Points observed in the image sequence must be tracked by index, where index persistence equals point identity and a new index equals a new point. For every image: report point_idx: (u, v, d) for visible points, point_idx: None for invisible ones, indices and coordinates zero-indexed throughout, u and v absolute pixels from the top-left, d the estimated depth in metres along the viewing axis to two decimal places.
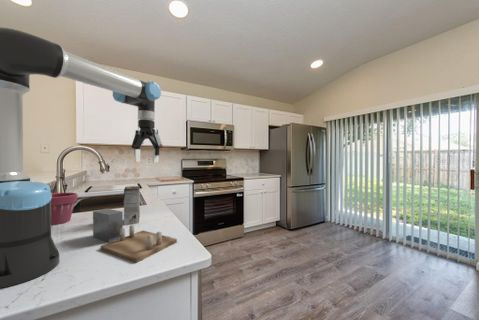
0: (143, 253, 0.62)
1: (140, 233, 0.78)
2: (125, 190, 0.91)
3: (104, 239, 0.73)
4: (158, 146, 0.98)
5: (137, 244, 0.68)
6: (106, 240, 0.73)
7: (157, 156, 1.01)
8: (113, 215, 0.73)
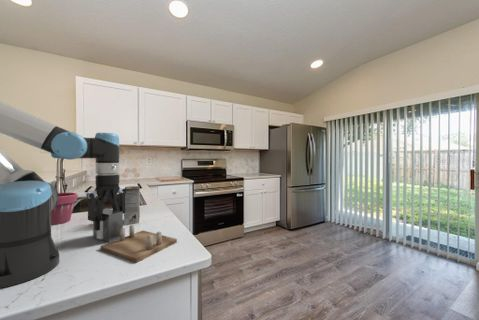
0: (143, 253, 0.62)
1: (140, 233, 0.78)
2: None
3: (104, 238, 0.73)
4: (88, 219, 0.72)
5: (137, 244, 0.68)
6: (106, 240, 0.73)
7: (99, 231, 0.73)
8: (113, 215, 0.73)
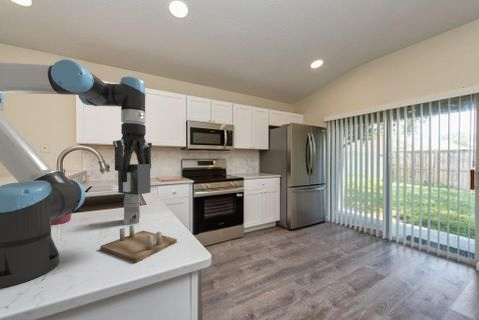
0: (143, 253, 0.62)
1: (140, 233, 0.78)
2: None
3: (132, 191, 0.68)
4: (115, 169, 0.66)
5: (137, 244, 0.68)
6: (134, 192, 0.67)
7: (127, 183, 0.68)
8: (141, 166, 0.68)
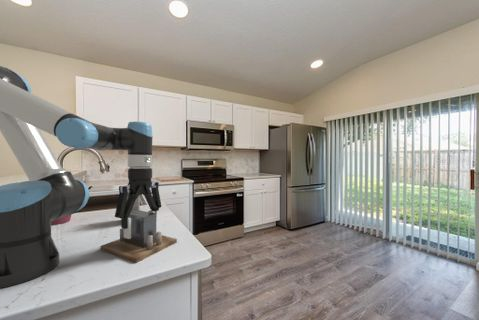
0: (143, 253, 0.62)
1: None
2: None
3: (138, 243, 0.66)
4: (115, 216, 0.63)
5: None
6: (140, 245, 0.66)
7: (127, 229, 0.65)
8: (147, 217, 0.67)
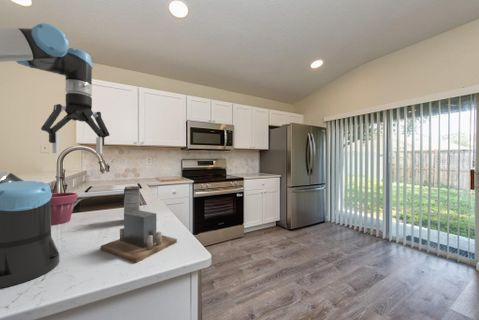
0: (143, 253, 0.62)
1: None
2: (125, 190, 0.91)
3: (138, 243, 0.66)
4: (41, 129, 0.65)
5: None
6: (140, 245, 0.66)
7: (55, 144, 0.67)
8: (147, 217, 0.67)
